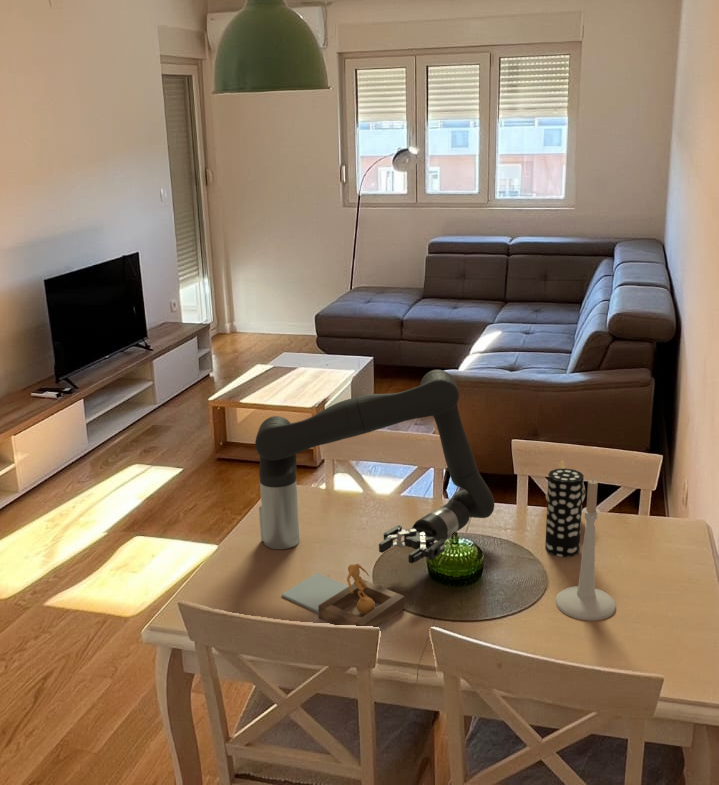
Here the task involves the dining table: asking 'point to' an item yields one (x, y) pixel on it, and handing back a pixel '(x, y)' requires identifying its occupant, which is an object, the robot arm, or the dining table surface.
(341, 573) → the dining table surface
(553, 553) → the white-spotted black cylinder
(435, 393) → the robot arm
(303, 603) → the ceramic tile
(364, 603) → the figurine
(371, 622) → the pocket frame
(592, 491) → the candlestick
